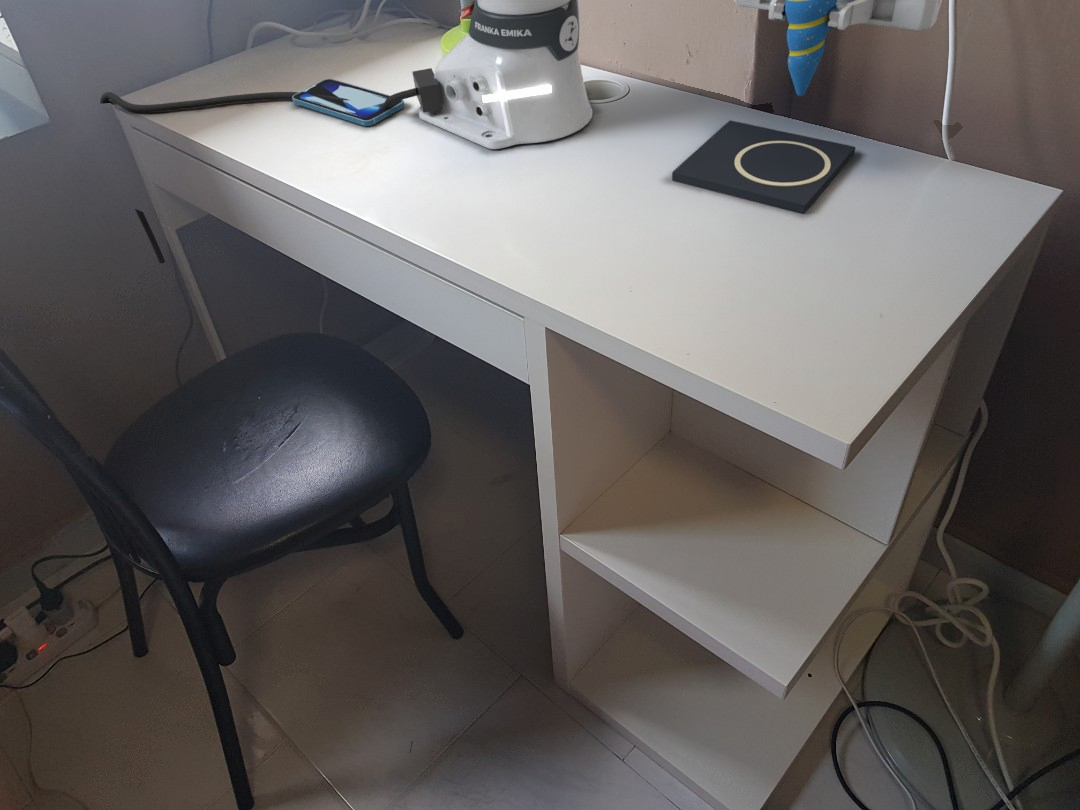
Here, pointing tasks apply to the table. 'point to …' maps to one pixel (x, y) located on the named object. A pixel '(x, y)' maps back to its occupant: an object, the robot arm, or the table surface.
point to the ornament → (806, 38)
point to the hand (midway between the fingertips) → (805, 16)
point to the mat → (765, 165)
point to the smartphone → (346, 102)
